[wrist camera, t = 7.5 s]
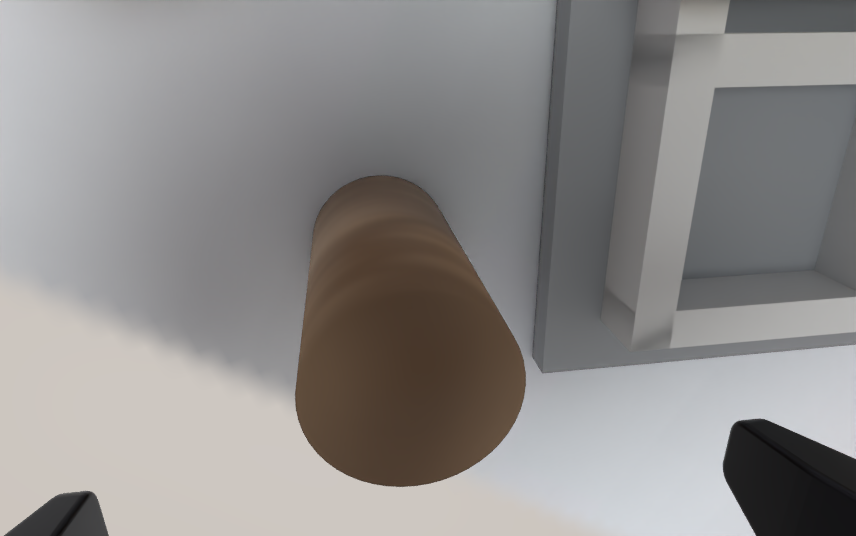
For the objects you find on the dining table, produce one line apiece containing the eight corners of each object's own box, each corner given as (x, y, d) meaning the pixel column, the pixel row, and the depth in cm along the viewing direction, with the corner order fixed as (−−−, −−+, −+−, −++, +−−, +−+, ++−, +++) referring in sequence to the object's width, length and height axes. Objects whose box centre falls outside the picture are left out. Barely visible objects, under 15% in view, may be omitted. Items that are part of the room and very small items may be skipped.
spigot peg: (446, 172, 17) (532, 281, 9) (445, 296, 18) (519, 474, 11) (307, 178, 16) (282, 298, 9) (318, 306, 18) (306, 498, 10)
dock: (1033, -283, 15) (1195, -356, 12) (847, 329, 21) (922, 373, 18) (579, -316, 13) (645, -410, 10) (532, 357, 20) (564, 410, 17)
